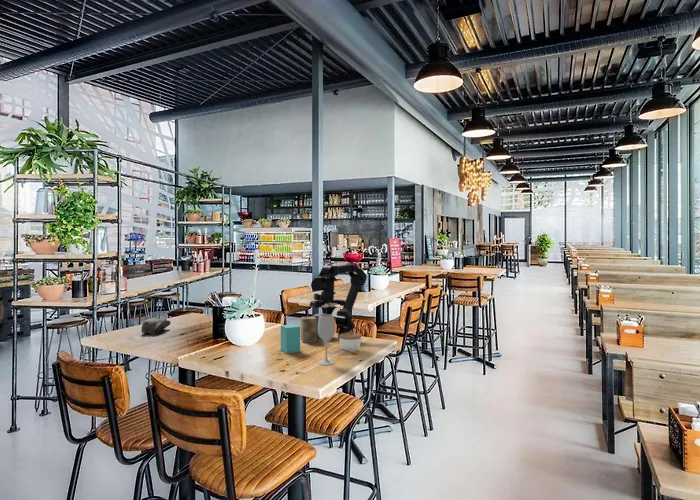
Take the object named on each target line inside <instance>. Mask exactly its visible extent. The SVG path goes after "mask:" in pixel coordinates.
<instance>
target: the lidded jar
mask: <svg viewBox="0 0 700 500" xmlns="http://www.w3.org/2000/svg"><path fill="white" fill-rule="evenodd" d="M339 337H340V339H339V345H340V347H341V349H342V350H344V351H346V352H349V353H355V352H357V350H359V348H360V346H361V344H362V343H361V342H362V334H361V333H358V332H352V333H351V331H349V333H342V334H340V335H339Z"/></svg>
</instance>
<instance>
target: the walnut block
mask: <svg viewBox="0 0 700 500" xmlns="http://www.w3.org/2000/svg"><path fill="white" fill-rule="evenodd" d="M300 341H301V342H302V343H313V342H314V343H315V342H317V338H316V318H315V317H314V316H313V315H312V316H301V317H300Z"/></svg>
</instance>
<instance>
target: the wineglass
mask: <svg viewBox="0 0 700 500" xmlns="http://www.w3.org/2000/svg"><path fill="white" fill-rule="evenodd" d="M321 314H322V315H320V316H319V321H318V335H319V337H320V338H319V339H321V340H322V341H323V342H324V343H325V345H324V346H325V347H324V348H325V349H324V350H325V357H324V359H323V360H319V361H317V363H318V365H320V366H332V365H334V364H335V361H333V360H331V359H329V358H328V342H330V340H331V339H333V338H334V336H335V333H336V322H335V318H334V315H333V314H324V313H321Z"/></svg>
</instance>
